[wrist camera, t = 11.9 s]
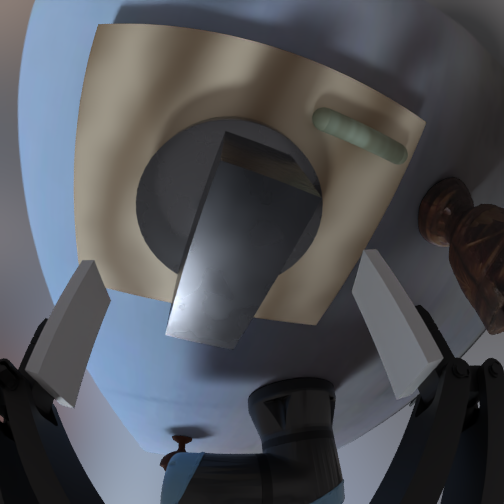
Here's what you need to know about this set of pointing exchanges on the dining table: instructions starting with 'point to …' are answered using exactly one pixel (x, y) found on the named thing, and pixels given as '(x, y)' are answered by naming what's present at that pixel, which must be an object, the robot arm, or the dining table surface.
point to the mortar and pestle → (469, 246)
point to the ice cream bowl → (182, 441)
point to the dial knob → (226, 221)
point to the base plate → (240, 105)
